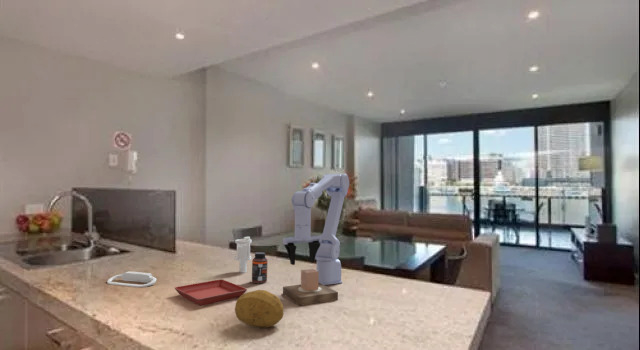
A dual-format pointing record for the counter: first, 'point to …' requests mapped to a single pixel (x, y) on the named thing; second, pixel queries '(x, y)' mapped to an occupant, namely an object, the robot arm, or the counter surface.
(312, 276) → the block
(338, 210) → the robot arm
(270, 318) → the potato
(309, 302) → the plinth
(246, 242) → the white upright piece
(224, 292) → the plant saucer
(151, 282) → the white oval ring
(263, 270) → the supplement bottle
